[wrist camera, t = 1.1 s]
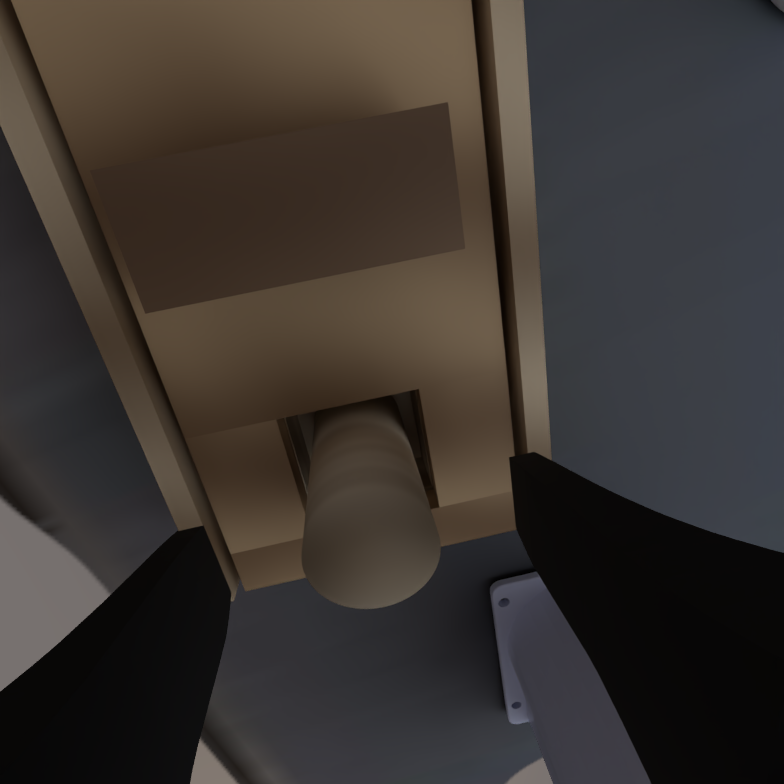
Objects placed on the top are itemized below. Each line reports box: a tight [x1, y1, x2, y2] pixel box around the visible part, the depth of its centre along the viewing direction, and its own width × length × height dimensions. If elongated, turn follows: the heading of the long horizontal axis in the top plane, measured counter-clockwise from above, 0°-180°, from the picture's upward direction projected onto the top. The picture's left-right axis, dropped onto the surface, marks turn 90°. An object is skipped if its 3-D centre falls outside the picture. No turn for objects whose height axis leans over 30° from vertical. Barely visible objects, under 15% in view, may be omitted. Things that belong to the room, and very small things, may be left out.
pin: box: [301, 395, 441, 609], centre depth 13 cm, size 3×3×7 cm
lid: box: [11, 0, 517, 591], centre depth 11 cm, size 16×9×4 cm, turn 10°
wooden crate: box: [0, 0, 552, 601], centre depth 14 cm, size 16×11×4 cm
